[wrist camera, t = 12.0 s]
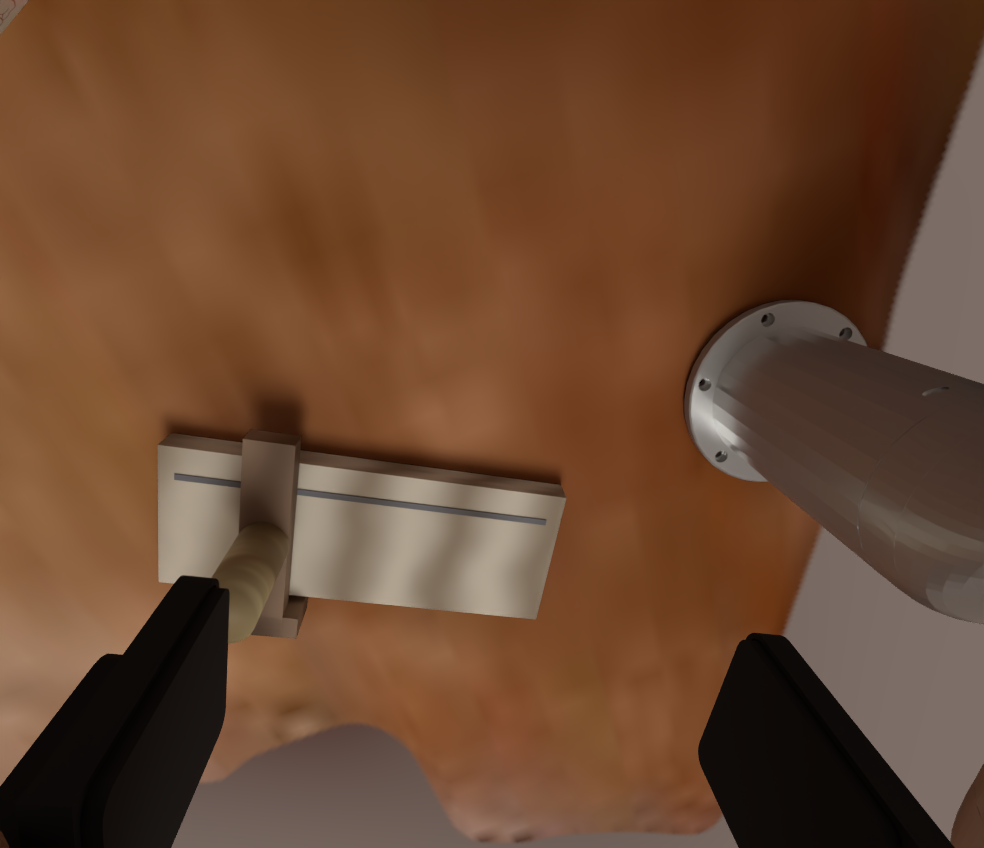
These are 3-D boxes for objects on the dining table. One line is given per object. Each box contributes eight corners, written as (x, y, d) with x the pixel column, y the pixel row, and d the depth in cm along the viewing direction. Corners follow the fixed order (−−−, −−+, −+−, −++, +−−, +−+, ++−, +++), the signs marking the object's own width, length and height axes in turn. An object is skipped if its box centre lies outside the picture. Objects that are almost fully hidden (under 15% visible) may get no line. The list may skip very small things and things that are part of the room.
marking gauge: (323, 428, 38) (282, 504, 28) (306, 607, 42) (266, 725, 33) (243, 417, 37) (172, 490, 27) (235, 600, 41) (172, 718, 32)
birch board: (560, 484, 41) (566, 498, 39) (531, 602, 44) (536, 620, 42) (171, 433, 38) (156, 445, 36) (171, 564, 41) (157, 582, 39)
